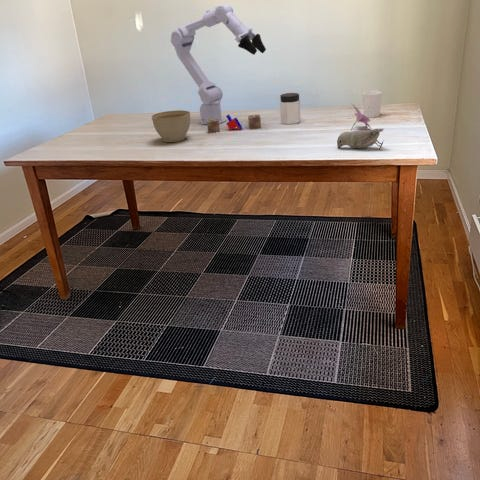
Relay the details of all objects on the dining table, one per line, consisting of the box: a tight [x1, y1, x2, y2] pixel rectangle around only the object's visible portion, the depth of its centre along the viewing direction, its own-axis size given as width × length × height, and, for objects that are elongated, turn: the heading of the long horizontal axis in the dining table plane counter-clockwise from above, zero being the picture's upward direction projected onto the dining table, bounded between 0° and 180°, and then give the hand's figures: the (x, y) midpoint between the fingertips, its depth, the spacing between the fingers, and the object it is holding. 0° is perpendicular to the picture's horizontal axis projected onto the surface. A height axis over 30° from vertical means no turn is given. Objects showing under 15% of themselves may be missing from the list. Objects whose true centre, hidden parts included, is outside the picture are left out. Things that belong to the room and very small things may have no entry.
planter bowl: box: [150, 109, 191, 143], centre depth 209 cm, size 16×16×11 cm
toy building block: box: [225, 114, 243, 131], centre depth 217 cm, size 4×4×8 cm
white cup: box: [362, 90, 383, 119], centre depth 216 cm, size 8×8×10 cm
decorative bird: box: [336, 128, 385, 151], centre depth 175 cm, size 5×16×8 cm, turn 69°
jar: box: [279, 92, 301, 125], centre depth 219 cm, size 9×8×12 cm
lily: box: [350, 103, 372, 131], centre depth 199 cm, size 12×12×10 cm
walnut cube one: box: [247, 114, 262, 130], centre depth 217 cm, size 5×5×5 cm
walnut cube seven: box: [206, 119, 221, 134], centre depth 218 cm, size 5×5×5 cm
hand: (259, 52), depth 206 cm, fingers open, 7 cm apart
